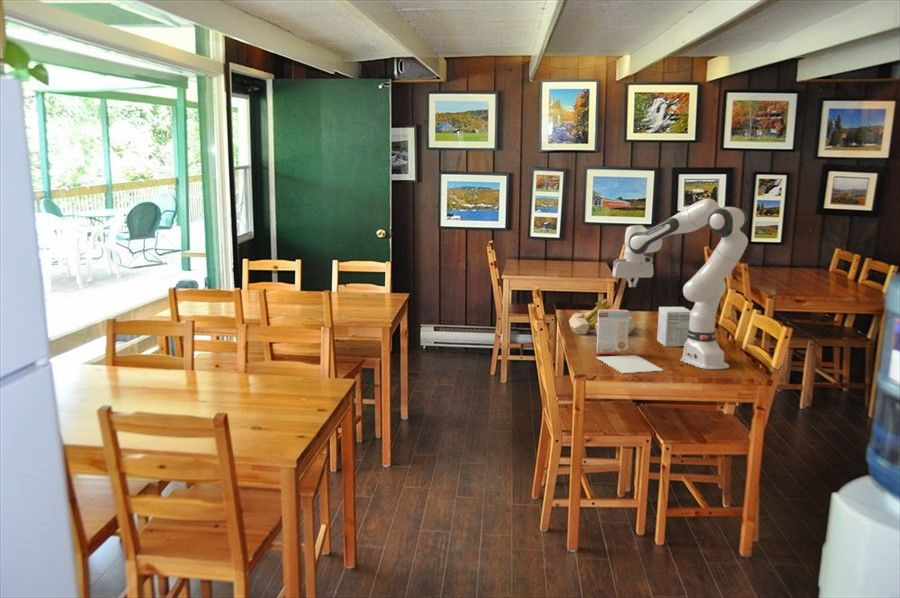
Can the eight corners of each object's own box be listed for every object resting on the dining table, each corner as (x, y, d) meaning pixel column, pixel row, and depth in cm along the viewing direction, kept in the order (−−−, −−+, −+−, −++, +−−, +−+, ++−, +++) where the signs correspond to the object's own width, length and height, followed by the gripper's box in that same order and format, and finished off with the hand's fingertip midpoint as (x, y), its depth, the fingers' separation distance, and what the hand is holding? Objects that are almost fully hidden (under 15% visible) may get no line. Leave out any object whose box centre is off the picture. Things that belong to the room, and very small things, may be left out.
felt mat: (664, 371, 334) (664, 370, 334) (622, 373, 329) (622, 372, 329) (635, 355, 358) (635, 354, 358) (596, 357, 354) (596, 357, 353)
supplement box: (691, 346, 376) (693, 312, 373) (664, 346, 376) (667, 312, 372) (681, 340, 389) (684, 306, 386) (656, 340, 389) (658, 306, 385)
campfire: (641, 328, 415) (643, 297, 412) (624, 341, 385) (626, 308, 382) (579, 321, 431) (580, 291, 428) (558, 333, 401) (559, 301, 398)
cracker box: (626, 353, 362) (628, 309, 360) (627, 355, 357) (629, 311, 354) (596, 352, 364) (597, 308, 361) (597, 354, 358) (599, 310, 356)
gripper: (616, 259, 363) (615, 288, 365) (655, 258, 368) (654, 287, 370) (610, 258, 369) (609, 286, 371) (649, 257, 374) (648, 285, 376)
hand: (632, 286), depth 370 cm, fingers closed
